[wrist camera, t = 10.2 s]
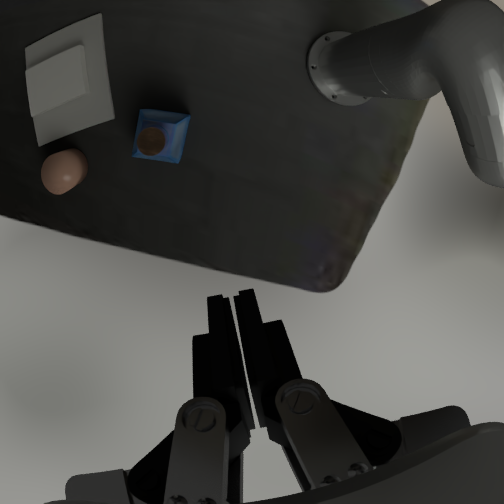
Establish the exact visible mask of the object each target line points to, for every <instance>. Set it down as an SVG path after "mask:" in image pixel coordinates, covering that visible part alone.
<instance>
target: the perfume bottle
mask: <svg viewBox="0 0 504 504" xmlns="http://www.w3.org/2000/svg"><path fill="white" fill-rule="evenodd" d="M190 116H191V115H188V114H182V113H176V112H169V111H162V110H155V109H140V113H139V118H138V123H137V128H136V134H135V140H134V146H133V152H132V157H138V158H145V159H152V160H159V161H166V162H172V163H179V161H180V159H181V156H182V153H183V148H184V143H185V138H186V134H187V129H188V125H189V120H190Z"/></svg>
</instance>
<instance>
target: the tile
mask: <svg viewBox="0 0 504 504" xmlns="http://www.w3.org/2000/svg"><path fill="white" fill-rule="evenodd" d="M25 73H26V83H27V91H28V99H29V105H30V112H31V117H34V116H38V115H40V114H42V113H44V112H46V111H49V110H51V109H53V108H55V107H58V106H60V105H62V104H65V103H67V102H69V101H72V100H74V99H77V98H79V97H82V96H85V95H87V94H90V90H89V83H88V76H87V68H86V60H85V51H84V46H82V45H77V46H75V47H73V48H70V49H68V50H66V51H64V52H62V53H59V54H57V55H55V56H53V57H51V58H49V59H47V60H45V61H43V62H41V63H39V64H37V65H35V66H33V67H32V68H30V69H28V70H26V71H25Z"/></svg>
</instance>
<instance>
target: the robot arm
mask: <svg viewBox="0 0 504 504" xmlns="http://www.w3.org/2000/svg"><path fill="white" fill-rule="evenodd" d="M325 39H326V40H325ZM311 66H313V69H312V68H311ZM307 71H308V74H309V77H310V80H311V82H312V84H313V85H314V87H315V88H316V89H317V91H318V92H319V93H320V94H321V95H322V96H324V97H325V98H326V99H328V100H330V101H332V102H334V103H336V104H340V105H345V106H355V105H360V104H362V103H365V102H367V101H368V100H369V99H371V98H372V97H380V98H395V99H407V100H424V99H428V98H430V97H433V96H434V95H436V94H437V93H439V92H440V91H441V90H442V92H443V95H444V97H445V100H446V102H447V105H448V106H449V108H450V110H451V114H452V116H453V119H454V122H455V125H456V128H457V131H458V135H459V138H460V141H461V145H462V148H463V152H464V155H465V158H466V160H467V163H468V165H469V167H470V169H471V170H472V172H473V173H474V174H475V176H477V177H478V178H479V179H480V180H482V181H483V182H485V183H487V184H489V185H492V186H496V187H500V188H504V12H503V11H502V10H501V9H500V8H499V7H498V6H497V5H496V4H494V3H493V2H492V1H490V0H441V1H439V2H437V3H435V4H433V5H431V6H429V7H427V8H425V9H423V10H420V11H418V12H416V13H413V14H411V15H408V16H405V17H402V18H399V19H396V20H393V21H389V22H386V23H383V24H380V25H377V26H374V27H371V28H368V29H365V30H362V31H359V32H356V33H353V34H352V33H349V32H344V31H334V32H329V33H327V34H324V35H323V36H321V37H319V38H318V39H317V40H316V41H315V42H314V43H313V44H312V46H311V47H310V49H309V52H308V55H307ZM332 95H333V98H332ZM363 97H364V98H363ZM234 303H235V309H236V315H237V320H238V326H239V332H240V337H241V343H242V348H243V354H244V359H245V365H246V370H247V375H248V380H249V384H250V389H251V393H252V397H253V401H254V405H255V409H256V413H257V416H258V421H259V425H260V427H261V428H262V427H267V431H268V435H269V439H270V440H272V441H274V442H276V443H278V444H280V445H281V446H282V449H283V451H284V453H285V455H286V458H287V460H288V462H289V464H290V466H291V468H292V471H293V473H294V475H295V477H296V479H297V481H298V483H299V485H300V487H301V489H302V491H303V492H301V493H297V494H292V495H288V496H283V497H278V498H273V499H268V500H261V501H255V502H248V503H243V451H244V449H245V448H246V447H247V446H248V445H249V444H250V439H249V438H250V437H251V435H250V430H251V429H255V424H254V419H253V414H252V409H251V403H250V398H249V393H248V388H247V382H246V377H245V371H244V366H243V360H242V354H241V349H240V345H239V341H238V336H237V332H236V328H235V323H234V319H233V314H232V310H231V305H230V301H229V298H228V297H227V298H223V296H222V294H221V295H216V296H210V297H207V306H208V325H209V333H208V334H202V335H195V336H193V340H192V345H193V346H192V351H193V399H191V400H189V401H187V402H186V403H184V404H183V405H182V407H181V408H180V409H179V411H178V414H177V417H176V423H175V429H174V430H173V431H172V432H171V433H170V434H169V435H168V436H167V437H166V438H165V439H163V440H162V441H161V442H160V443H159V444H158V445H157V446H156V447H155V448H154V449H153V450H152V451H151V452H149V453H148V454H147V455H146V456H145V457H144V458H143V459H141V460H140V461H139V462H138V463H137V464H136V465H135V466H134V467H133V468H132V469H130V470H125V471H124V470H123V469H118V470H112V471H106V472H98V473H90V474H81V475H75V476H72V477H71V478H70V479H69V480H68V482H67V483H66V488H65V494H66V500H58V501H52V502H48V503H44V504H504V423H500V422H487V423H481V424H477V425H473V426H471V425H470V422H469V419H468V416H467V414H466V412H465V411H464V410H463V409H462V408H460V407H458V406H446V407H443V408H439V409H435V410H432V411H428V412H423V413H420V414H415V415H410V416H406V417H401V418H400V420H396V421H389V420H387V419H384V418H381V417H378V416H374V415H371V414H369V413H366V412H363V411H360V410H357V409H355V408H352V407H349V406H346V405H343V404H341V403H338V402H336V401H333V400H331V399H330V398H329V397H328V395H327V394H326V392H325V390H324V389H323V388H322V387H321V386H320V384H318V383H316V382H315V381H312V380H308V379H303V378H302V375H301V373H300V370H299V367H298V364H297V362H296V358H295V356H294V353H293V350H292V347H291V344H290V342H289V339H288V336H287V333H286V330H285V327H284V324H283V322H282V320H277V321H272V322H267V323H263V322H262V319H261V315H260V311H259V307H258V304H257V300H256V296H255V293H254V289H248V290H242V291H239V295H237V296H234Z"/></svg>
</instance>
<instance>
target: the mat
mask: <svg viewBox="0 0 504 504" xmlns="http://www.w3.org/2000/svg"><path fill="white" fill-rule="evenodd" d="M77 45H82V46H84V51H85V60H86V68H87V76H88V83H89V90H90V94H87V95H85V96H82V97H79V98H77V99H74V100H72V101H69V102H67V103H65V104H62V105H60V106H58V107H55V108H53V109H51V110H49V111H46V112H44V113H42V114H40V115H38V116H34V117H33V120H34V126H35V131H36V136H37V141H38V145H39V146H42V145H44V144H47V143H49V142H51V141H54V140H56V139H59V138H61V137H64V136H66V135H69V134H71V133H74V132H77V131H79V130H82V129H85V128H88V127H91V126H93V125H96V124H99V123H102V122H105V121H109V120H112V119H115V113H114V108H113V102H112V96H111V90H110V84H109V77H108V70H107V62H106V54H105V45H104V35H103V23H102V14H101V13H99V14H97V15H94V16H91V17H89V18H86V19H84V20H81V21H79V22H77V23H74V24H72V25H70V26H68V27H65V28H63V29H61V30H59V31H57V32H55V33H53V34H51V35H49V36H47V37H45V38H43V39H41V40H39V41H37V42H35V43H34V44H32V45H30V46H28V47H27V48H25V53H26V68H27V70H28V69H30V68H32V67H33V66H35V65H37V64H39V63H41V62H43V61H45V60H47V59H49V58H51V57H53V56H55V55H57V54H59V53H62V52H64V51H66V50H68V49H70V48H73V47H75V46H77Z"/></svg>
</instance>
